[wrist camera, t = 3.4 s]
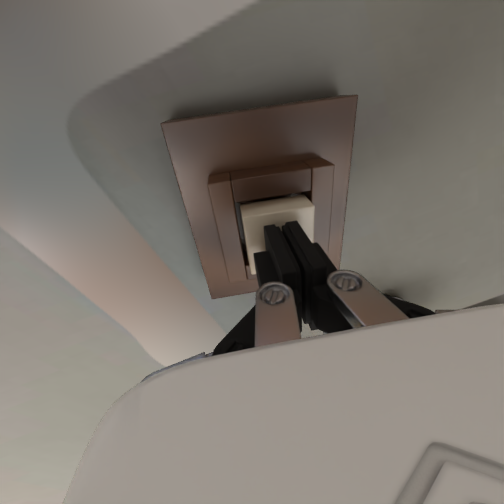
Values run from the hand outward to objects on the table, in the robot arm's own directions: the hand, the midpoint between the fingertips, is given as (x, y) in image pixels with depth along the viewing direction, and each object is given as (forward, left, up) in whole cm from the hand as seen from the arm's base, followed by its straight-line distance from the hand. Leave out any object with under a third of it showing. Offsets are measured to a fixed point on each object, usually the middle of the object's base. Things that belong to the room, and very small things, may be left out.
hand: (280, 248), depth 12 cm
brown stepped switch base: (0, 0, -6) cm, 6 cm away
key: (0, 0, -2) cm, 2 cm away
